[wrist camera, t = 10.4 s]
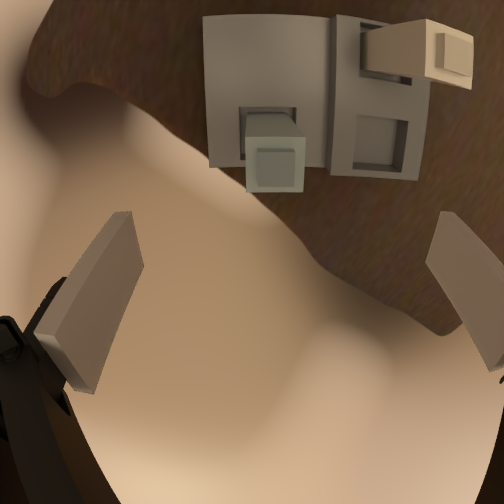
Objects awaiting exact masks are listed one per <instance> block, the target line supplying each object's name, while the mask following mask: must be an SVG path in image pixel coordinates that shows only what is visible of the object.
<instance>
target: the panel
mask: <svg viewBox="0 0 504 504" xmlns="http://www.w3.org/2000/svg"><path fill="white" fill-rule="evenodd" d="M391 25H392V24H387V23H383V22H378V21H373V20H368V19H363V18H357V17H351V16H345V15H338V14H336V15H335V16H333V17H331V18H323V17H313V16H301V15H283V14H235V15H217V16H204V17H203V47H204V75H205V98H206V118H207V136H208V152H209V167H210V168H215V167H246V157H245V132H246V121H247V112H251V111H278V112H286V113H287V114H288V115H289V117H290V118H291V119H292V120H293V122H294V123H295V124H296V125H297V127H298V128H299V129H300V131H301V132H302V133H303V134H304V136H305V137H306V146H305V167H325V168H326V170H327V171H328V173H329V174H330V175H337V176H360V177H377V178H392V179H405V180H417V181H418V176H419V170H420V164H421V158H422V152H423V146H424V139H425V131H426V124H427V115H428V105H429V94H430V81H428V80H422V79H416V78H410V77H403V76H396V75H390V74H384V73H379V72H372V71H366V70H359V67H360V33H362V32H366V31H369V30H373V29H378V28H382V27H386V26H391Z"/></svg>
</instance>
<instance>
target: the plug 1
mask: <svg viewBox="0 0 504 504" xmlns="http://www.w3.org/2000/svg"><path fill="white" fill-rule="evenodd" d="M305 146H306V137H305V136H304V134H303V133H302V132H301V131H300V129H299V128H298V127H297V125H296V124H295V123H294V122H293V120H292V119H291V118H290V117H289V115H288V114H287V113H286V112H278V111H251V112H247V121H246V132H245V157H246V192H303V185H304V167H305Z"/></svg>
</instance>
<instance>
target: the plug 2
mask: <svg viewBox="0 0 504 504" xmlns="http://www.w3.org/2000/svg"><path fill="white" fill-rule="evenodd" d="M359 70H366V71H372V72H379V73H384V74H390V75H396V76H403V77H410V78H416V79H422V80H428V81H434V82H439V83H444V84H449V85H453V86H458V87H462V88H466V89H470V90H471V86H472V75H473V36H471V35H468V34H466V33H463V32H461V31H458V30H456V29H453V28H451V27H448V26H445V25H442V24H440V23H437V22H434V21H431V20H428V19H422V20H416V21H410V22H405V23H400V24H395V25H391V26H386V27H382V28H378V29H373V30H369V31H366V32H362V33H360V67H359Z"/></svg>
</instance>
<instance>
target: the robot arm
mask: <svg viewBox="0 0 504 504" xmlns="http://www.w3.org/2000/svg"><path fill="white" fill-rule="evenodd" d="M425 263H426V264H427V266H428V267H429V269H430V270H431V272H432V273H433V275H434V276H435V278H436V279H437V281H438V282H439V284H440V285H441V287H442V289H443V290H444V292H445V293H446V295H447V297H448V298H449V300H450V301H451V303H452V305H453V306H454V308H455V310H456V311H457V313H458V315H459V316H460V318H461V320H462V322H463V323H464V325H465V327H466V328H467V330H468V332H469V334H470V336H471V337H472V339H473V341H474V343H475V345H476V347H477V348H478V350H479V352H480V354H481V356H482V358H483V360H484V362H485V364H486V366H487V368H488V370H489V372H492V371H495V370H498V369H501V368H503V367H504V265H503V264H502V263H501V262H500V261H499V259H498V258H497V257H496V256H495V255H494V254H493V253H492V252H491V250H490V249H489V248H488V247H487V246H486V245H485V244H484V243H483V242H482V241H481V240H480V239H479V237H478V236H477V235H476V234H475V233H474V232H473V231H472V230H471V229H470V228H469V227H468V226H467V225H466V224H465V223H464V222H463V221H462V220H461V219H460V218H459V217H458V216H457V215H456V214H455V213H454V212H444V211H441V212H440V215H439V219H438V223H437V226H436V230H435V233H434V236H433V240H432V243H431V246H430V249H429V252H428V255H427V258H426V261H425ZM143 268H144V264H143V260H142V256H141V252H140V248H139V244H138V240H137V235H136V231H135V226H134V222H133V217H132V212H131V211H126V212H115V213H114V214H113V215H112V216H111V218H110V219H109V220H108V221H107V223H106V224H105V225H104V227H103V228H102V229H101V231H100V232H99V233H98V235H97V236H96V237H95V239H94V240H93V241H92V243H91V244H90V245H89V247H88V248H87V250H86V251H85V252H84V254H83V255H82V257H81V258H80V259H79V261H78V262H77V264H76V266H75V267H74V268H73V270H72V271H71V272H70V274H69V275H68V277H62V278H61V279H60V280H59V281H58V282H56V283H55V284H54V285H53V286H52V287H51V289H50V290H49V292H48V293H47V295H46V298H45V299H43V301H42V303H41V304H40V307H38V309H37V311H36V312H35V314H34V316H33V317H32V319H31V320H30V322H29V324H28V325H27V327H26V329H25V330H24V332H23V333H22V332H21V330H20V328H19V327H18V325H17V323H16V322H15V320H14V319H13V318H12V317H10V316H1V317H0V504H121V503H120V501H119V500H118V498H117V497H116V495H115V493H114V492H113V490H112V488H111V486H110V485H109V483H108V481H107V480H106V478H105V476H104V474H103V472H102V470H101V469H100V467H99V465H98V463H97V461H96V459H95V457H94V455H93V453H92V451H91V449H90V447H89V445H88V443H87V441H86V439H85V436H84V434H83V432H82V430H81V428H80V426H79V423H78V421H77V418H76V416H75V414H74V411H73V409H72V406H71V404H70V401H69V398H68V396H67V394H66V392H65V391H64V389H63V388H64V385H65V383H66V381H67V382H68V383H69V384H70V385H71V387H72V388H73V389H74V391H79V392H83V393H88V394H94V393H95V390H96V387H97V384H98V381H99V378H100V375H101V372H102V370H103V367H104V364H105V361H106V359H107V356H108V353H109V350H110V348H111V345H112V342H113V340H114V337H115V335H116V332H117V329H118V327H119V324H120V322H121V319H122V317H123V314H124V312H125V310H126V307H127V305H128V302H129V300H130V298H131V295H132V293H133V291H134V288H135V286H136V283H137V281H138V279H139V277H140V275H141V272H142V270H143ZM503 381H504V376H503V377H502V378H501V380H500V382H499V383H500V384H501V383H502V382H503ZM475 504H504V408H503V413H502V418H501V422H500V426H499V431H498V435H497V439H496V442H495V446H494V450H493V453H492V457H491V460H490V463H489V466H488V469H487V472H486V475H485V478H484V481H483V484H482V486H481V489H480V492H479V494H478V497H477V499H476V502H475Z"/></svg>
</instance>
